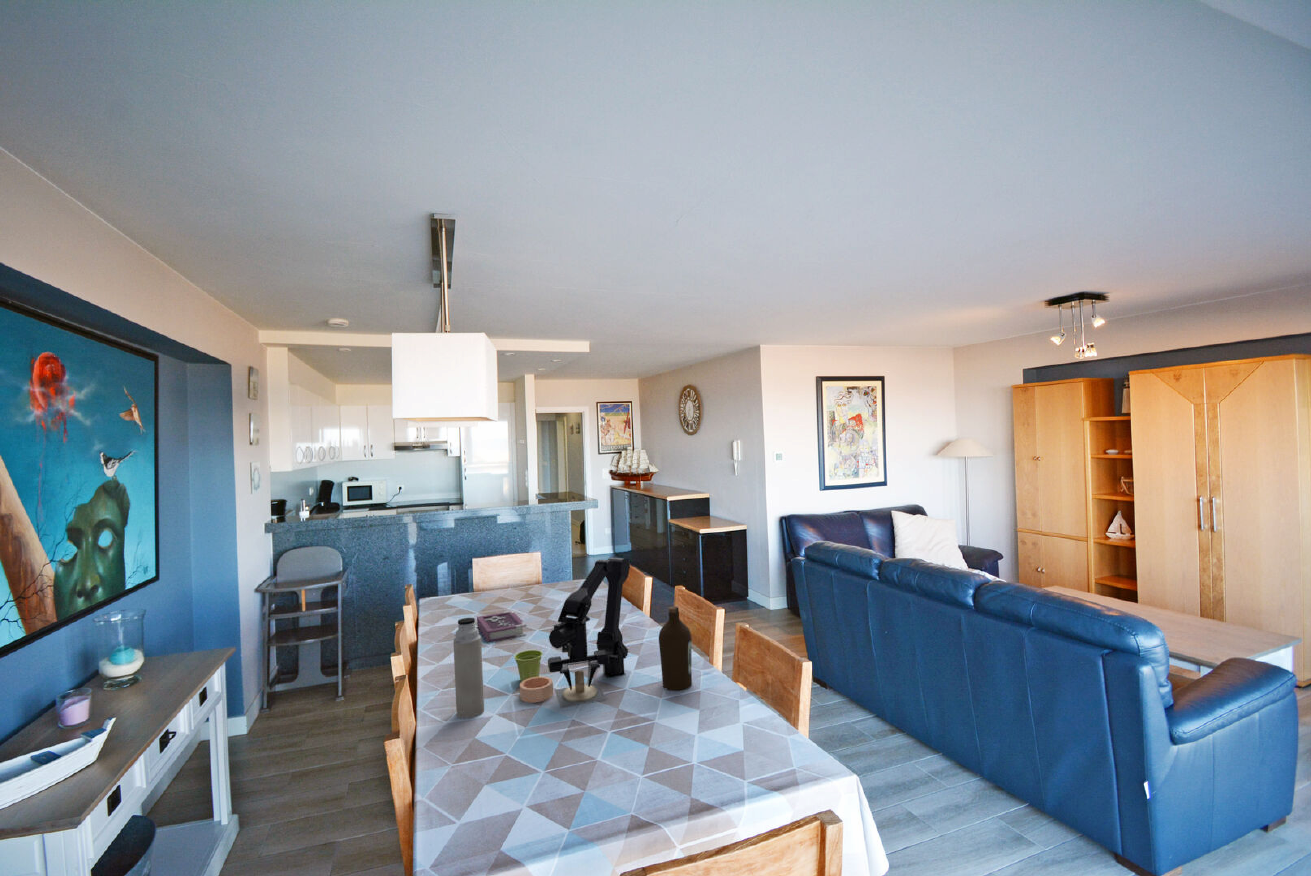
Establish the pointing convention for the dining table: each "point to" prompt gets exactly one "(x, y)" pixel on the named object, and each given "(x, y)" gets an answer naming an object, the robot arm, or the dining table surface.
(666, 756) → the dining table surface
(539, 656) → the plant pot
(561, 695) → the mat
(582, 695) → the lid
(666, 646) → the olive oil
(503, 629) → the book
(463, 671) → the thermos bottle
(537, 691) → the bowl
